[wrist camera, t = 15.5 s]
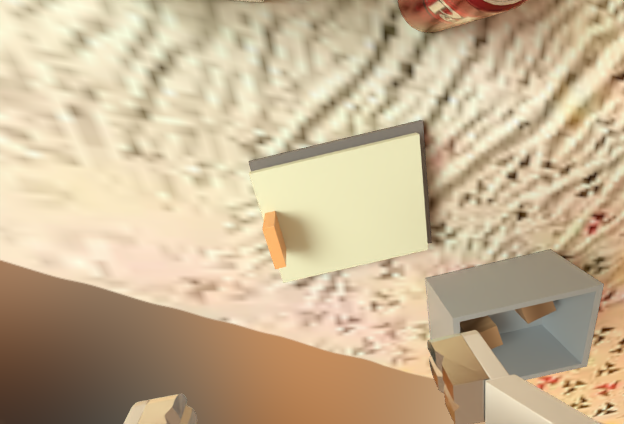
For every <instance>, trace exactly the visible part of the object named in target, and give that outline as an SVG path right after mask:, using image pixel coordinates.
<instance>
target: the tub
mask: <svg viewBox="0 0 624 424" xmlns="http://www.w3.org/2000/svg"><path fill="white" fill-rule="evenodd" d="M425 280H426V292H427V303H428V315H429V327H430V339H435V338H439V337H444V336H448V335H453V334H457V333H458V334H459V333H461V331H460V322H461V321H466V320H470V319H475V318H479V317H484V316H489V317H490V318H491V320H492V321H493V322H494V323H495V324H496V325H497V328H498V331H499V334H500V337H501V339H502V342H503V345H500V346H498V347H495V348H493V349H491V350H492V351H493V353H494V354H495V356H496V357H497V358H498V360H499V361H500V363H501V364H502V365H503V367H504V368H505V369H506V371H507V372H508V374H509V375H514V374H515V375H517V376H519V377H520V378H522V379H524V380H527V379H532V378H536V377H541V376H545V375H550V374H554V373H559V372H563V371H568V370H572V369H577V368H581V367H586V366H587V363H588V358H589V353H590V349H591V344H592V339H593V334H594V329H595V325H596V320H597V315H598V310H599V305H600V300H601V296H602V291H603V286H604V284H603V283H601V282H600V281H598V280H597V279H595V278H594V277H592V276H590V275H589V274H587V273H586V272H584V271H583V270H581V269H580V268H578V267H577V266H575V265H574V264H572V263H571V262H569V261H568V260H566V259H565V258H563V257H561V256H560V255H558V254H557V253H555V252H554V251H552V250H546V251H542V252H538V253H533V254H529V255H525V256H520V257H516V258H511V259H507V260H503V261H498V262H494V263H490V264H485V265H481V266H476V267H472V268H468V269H463V270H459V271H455V272H450V273H446V274H441V275H437V276H433V277H428V278H425ZM550 301H553V303H554V306H555V308H556V311H554V312H552V313H550V314H548V315H545V316H543V317H541V318H539V319H537V320H535V321H533V322H531V323H529V324H528V323H527V322H526V321H525V320H524V319H523V318H522V317H521V316H520V315H519V314H518V313H517V312H516V311H515V309H519V308H524V307H528V306H532V305H537V304H541V303H546V302H550Z"/></svg>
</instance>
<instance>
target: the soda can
mask: <svg viewBox="0 0 624 424" xmlns="http://www.w3.org/2000/svg"><path fill="white" fill-rule="evenodd" d="M526 1H528V0H398V5H399V9H400V11H401V14H402V16H403V17H404V19H405V21H406V22H407V23H408V24H409V25H410V26H411V27H413V28H414V29H416V30H418V31H421V32H427V33H433V32H439V31H442V30H445V29H449V28H452V27H455V26H459V25H462V24H466V23H469V22H472V21H476V20H479V19H483V18H486V17H489V16H493V15H496V14H500V13H503V12H506V11H509V10H512V9H514V8H517V7H518V6H520V5H522V4H523V3H525V2H526Z"/></svg>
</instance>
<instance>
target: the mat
mask: <svg viewBox="0 0 624 424" xmlns="http://www.w3.org/2000/svg"><path fill="white" fill-rule="evenodd" d="M412 133H418V134H419V136H420V149H421V163H422V176H423V189H424V203H425V216H426V229H427V243H432V242H431V228H430V214H429V200H428V186H427V172H426V157H425V143H424V129H423V121H422V120H419V121H415V122H411V123H407V124H402V125H398V126H394V127H390V128H386V129H381V130H377V131H373V132H369V133H365V134H360V135H356V136H352V137H348V138H344V139H339V140H335V141H331V142H327V143H323V144H318V145H314V146H310V147H306V148H302V149H297V150H293V151H289V152H285V153H281V154H277V155H272V156H268V157H264V158H260V159H256V160H251V161H249V165H250V168H251V171H255V170H259V169H263V168H268V167H272V166H276V165H280V164H285V163H289V162H293V161H297V160H302V159H306V158H310V157H314V156H318V155H323V154H327V153H331V152H335V151H340V150H344V149H348V148H352V147H357V146H361V145H365V144H369V143H374V142H378V141H382V140H386V139H391V138H395V137H399V136H403V135H407V134H412Z"/></svg>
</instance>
